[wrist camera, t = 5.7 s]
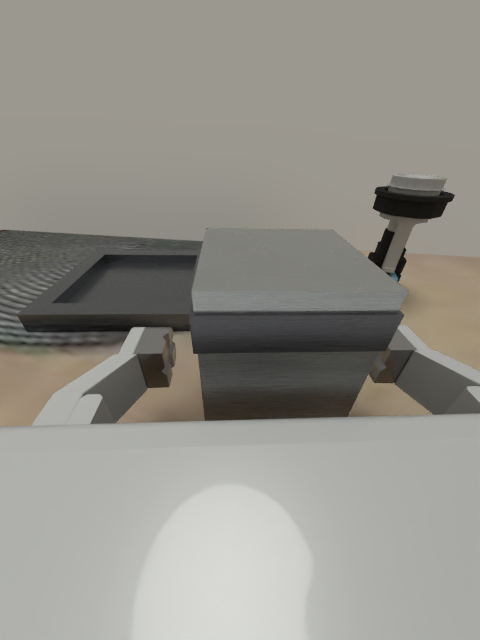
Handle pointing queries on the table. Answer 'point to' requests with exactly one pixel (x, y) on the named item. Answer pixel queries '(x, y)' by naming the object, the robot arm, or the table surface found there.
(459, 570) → the robot arm
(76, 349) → the table surface
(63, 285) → the tray
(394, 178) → the push button
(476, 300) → the table surface
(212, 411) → the block
